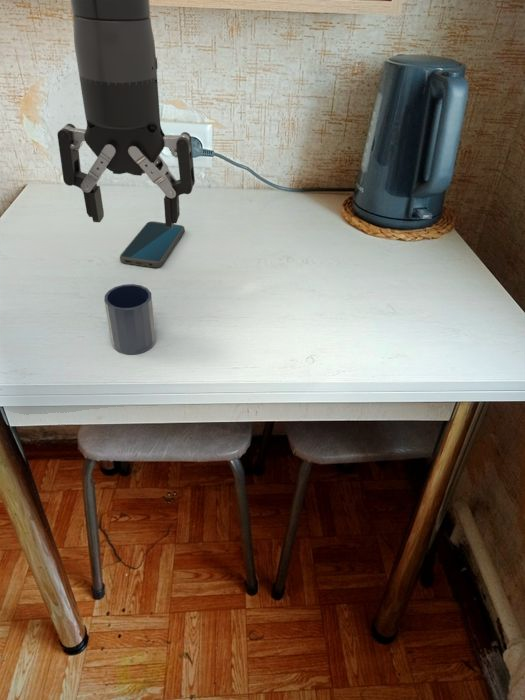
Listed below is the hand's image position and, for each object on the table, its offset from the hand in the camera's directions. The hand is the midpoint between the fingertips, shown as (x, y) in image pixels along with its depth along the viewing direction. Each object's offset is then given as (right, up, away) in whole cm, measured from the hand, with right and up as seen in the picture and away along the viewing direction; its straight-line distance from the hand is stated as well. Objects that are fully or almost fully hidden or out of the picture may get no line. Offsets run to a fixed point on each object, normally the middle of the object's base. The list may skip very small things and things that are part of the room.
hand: (134, 222), depth 60 cm
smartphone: (-5, +4, +32) cm, 33 cm away
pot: (-3, -14, +11) cm, 18 cm away
